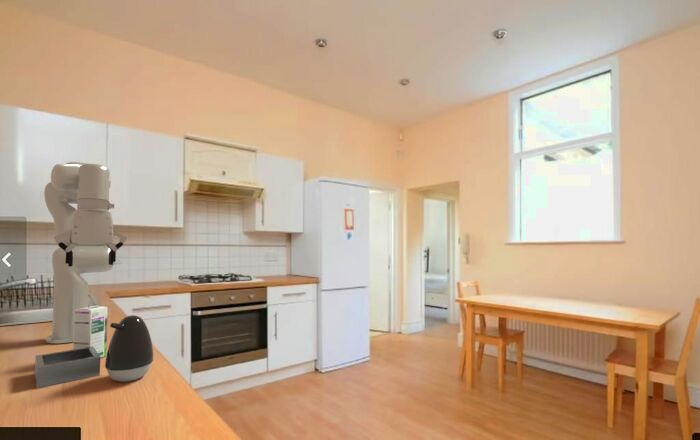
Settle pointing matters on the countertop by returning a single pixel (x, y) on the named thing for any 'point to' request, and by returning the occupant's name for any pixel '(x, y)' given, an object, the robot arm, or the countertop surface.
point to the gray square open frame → (66, 366)
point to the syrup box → (91, 328)
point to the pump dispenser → (129, 350)
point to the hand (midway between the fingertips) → (91, 265)
